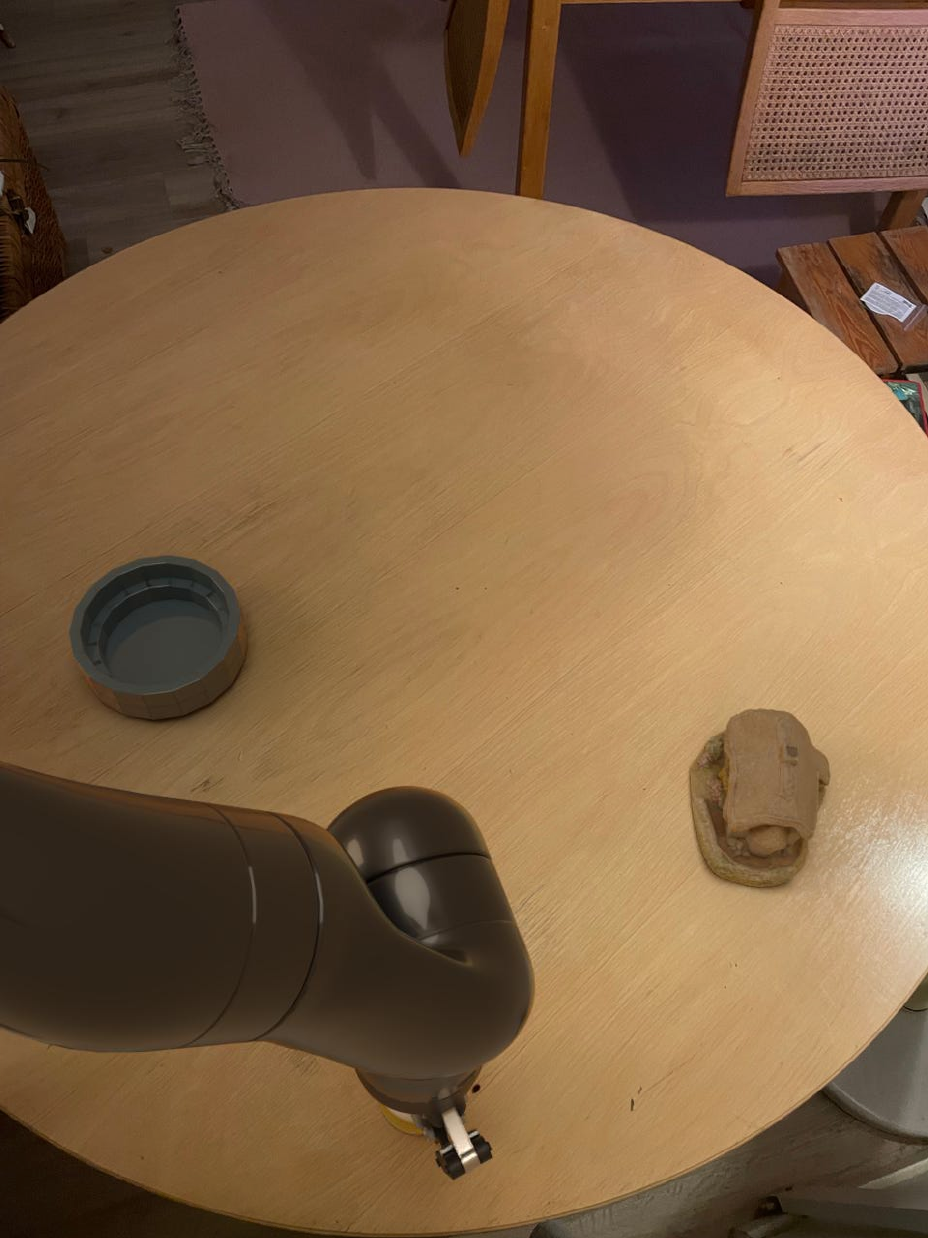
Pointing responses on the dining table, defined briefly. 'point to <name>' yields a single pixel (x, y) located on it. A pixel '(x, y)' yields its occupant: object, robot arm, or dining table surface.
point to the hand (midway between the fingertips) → (418, 1080)
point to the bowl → (159, 636)
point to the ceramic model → (758, 797)
